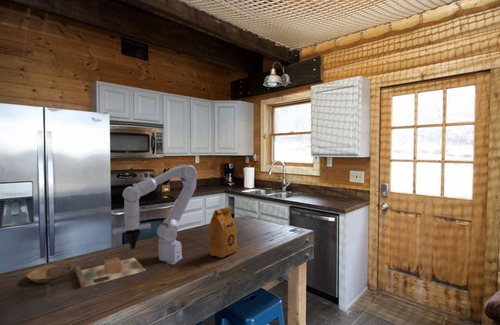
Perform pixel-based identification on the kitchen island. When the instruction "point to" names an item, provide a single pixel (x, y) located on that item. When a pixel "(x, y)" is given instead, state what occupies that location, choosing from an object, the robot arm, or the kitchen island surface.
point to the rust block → (112, 265)
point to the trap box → (98, 272)
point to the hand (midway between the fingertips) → (132, 248)
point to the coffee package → (222, 233)
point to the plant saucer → (46, 273)
